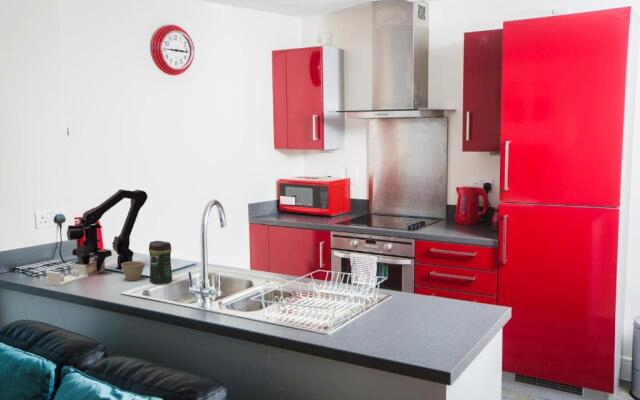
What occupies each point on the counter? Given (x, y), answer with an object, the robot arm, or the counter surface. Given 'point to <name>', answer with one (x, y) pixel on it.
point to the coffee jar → (160, 262)
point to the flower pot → (132, 269)
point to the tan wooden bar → (93, 268)
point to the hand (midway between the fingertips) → (92, 270)
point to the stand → (61, 280)
